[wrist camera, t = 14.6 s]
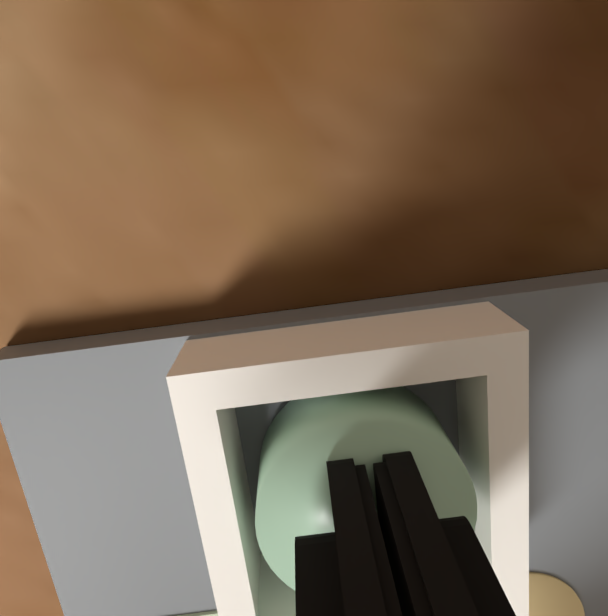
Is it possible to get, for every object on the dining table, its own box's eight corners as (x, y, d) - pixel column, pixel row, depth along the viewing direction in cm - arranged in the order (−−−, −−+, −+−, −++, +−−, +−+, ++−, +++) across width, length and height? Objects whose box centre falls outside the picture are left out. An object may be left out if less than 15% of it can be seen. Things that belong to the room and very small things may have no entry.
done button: (274, 550, 13) (271, 621, 11) (246, 389, 11) (238, 436, 10) (451, 528, 13) (480, 595, 11) (442, 364, 11) (473, 406, 10)
